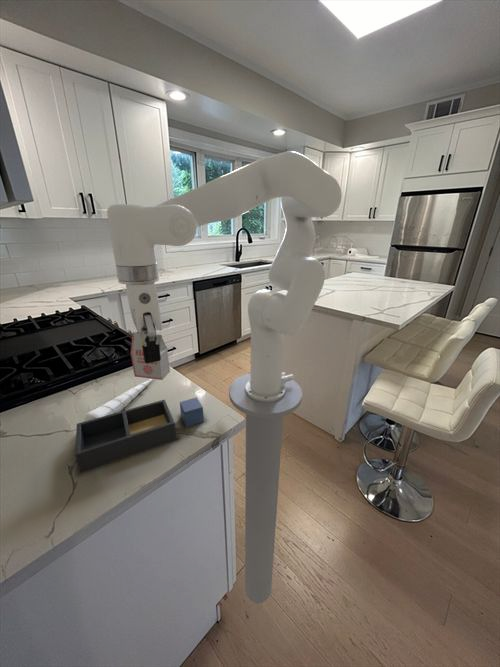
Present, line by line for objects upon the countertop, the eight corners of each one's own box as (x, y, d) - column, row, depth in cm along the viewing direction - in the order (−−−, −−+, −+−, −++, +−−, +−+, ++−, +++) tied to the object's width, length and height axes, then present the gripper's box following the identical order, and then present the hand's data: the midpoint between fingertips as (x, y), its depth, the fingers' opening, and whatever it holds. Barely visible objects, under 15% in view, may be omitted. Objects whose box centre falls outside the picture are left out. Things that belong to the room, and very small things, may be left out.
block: (197, 411, 73) (196, 397, 72) (203, 421, 70) (202, 406, 68) (181, 416, 71) (179, 402, 70) (186, 427, 68) (184, 412, 66)
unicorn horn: (162, 382, 86) (160, 369, 84) (100, 434, 65) (96, 418, 63) (149, 379, 87) (147, 366, 85) (85, 430, 66) (80, 413, 65)
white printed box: (143, 368, 66) (137, 329, 62) (169, 371, 64) (165, 331, 60) (134, 376, 62) (127, 335, 58) (162, 379, 61) (156, 338, 57)
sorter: (166, 413, 72) (164, 399, 70) (176, 439, 64) (174, 423, 62) (81, 439, 64) (76, 423, 62) (80, 472, 55) (75, 455, 54)
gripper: (167, 279, 49) (176, 367, 56) (150, 265, 63) (158, 337, 70) (121, 283, 46) (137, 376, 53) (114, 268, 60) (127, 342, 67)
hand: (149, 353), depth 61 cm, fingers closed on white printed box, 7 cm apart
